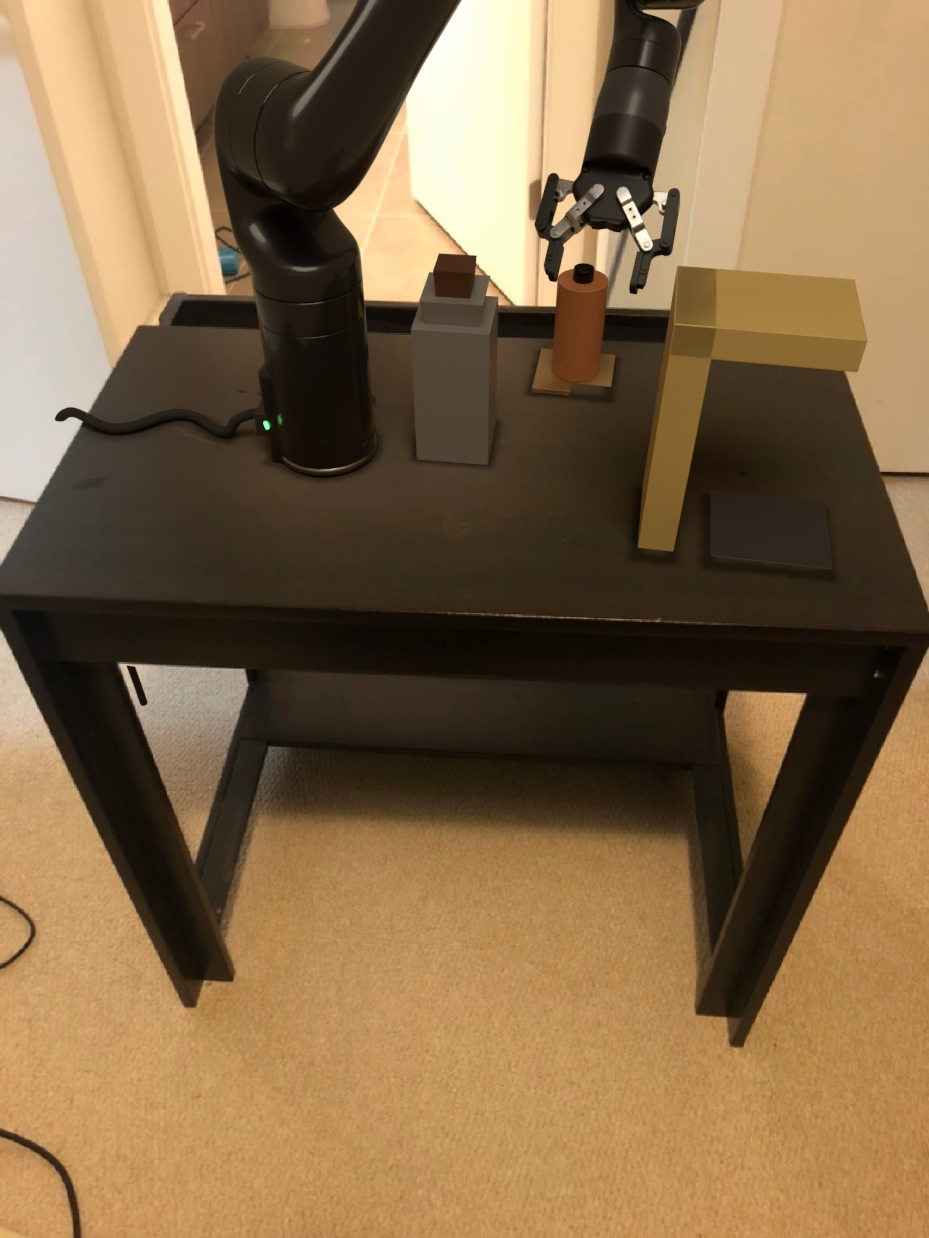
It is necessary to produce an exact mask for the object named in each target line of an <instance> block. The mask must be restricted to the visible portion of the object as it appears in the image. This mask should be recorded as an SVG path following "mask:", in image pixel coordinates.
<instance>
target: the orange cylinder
mask: <svg viewBox="0 0 929 1238" xmlns="http://www.w3.org/2000/svg"><path fill="white" fill-rule="evenodd" d="M609 283H610V280H609V278H608V276H607V275H606V274H605V273H603V272H602V271H600V270H597V269H595V266H594V265H593V264H591V263H586V262H581V263H577V264H575V265H574V266H573V268H570V269H567V270H564V271H561V273H559V275H558V279H557V282H556V294H555V295H556V296H555V311H554V324H553V340H552V349H553V353H552V368H551V369H552V372H553V374H554V375H555V376H556V377H558V378H560V379H562V380H565V381H569V382H585V381H589V380H592V379H593V378H595V377H596V376H597V375H598V373H599V369H600V359H601V354H602V348H603V340H604V331H605V322H606V320H605V319H606V314H607V313H606V311H607V303H608V293H609Z"/></svg>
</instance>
